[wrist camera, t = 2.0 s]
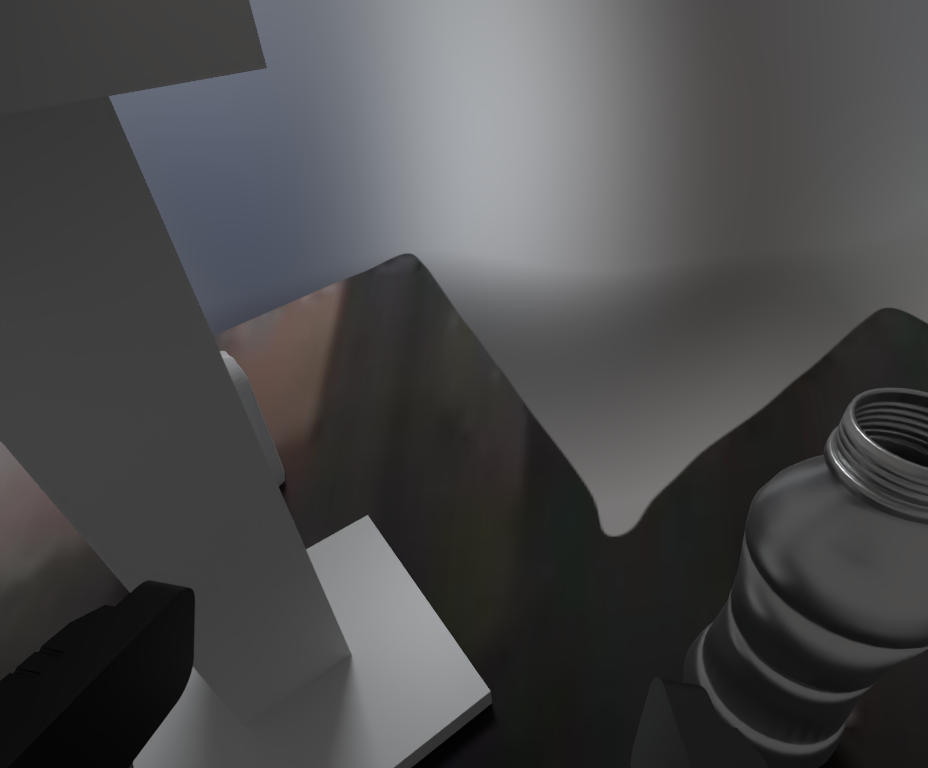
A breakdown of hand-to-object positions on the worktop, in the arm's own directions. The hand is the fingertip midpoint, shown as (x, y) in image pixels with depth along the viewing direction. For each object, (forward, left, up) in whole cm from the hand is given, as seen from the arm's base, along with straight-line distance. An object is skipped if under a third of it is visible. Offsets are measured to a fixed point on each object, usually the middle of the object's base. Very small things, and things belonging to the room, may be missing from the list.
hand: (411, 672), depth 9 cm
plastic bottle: (-15, +2, -22) cm, 27 cm away
